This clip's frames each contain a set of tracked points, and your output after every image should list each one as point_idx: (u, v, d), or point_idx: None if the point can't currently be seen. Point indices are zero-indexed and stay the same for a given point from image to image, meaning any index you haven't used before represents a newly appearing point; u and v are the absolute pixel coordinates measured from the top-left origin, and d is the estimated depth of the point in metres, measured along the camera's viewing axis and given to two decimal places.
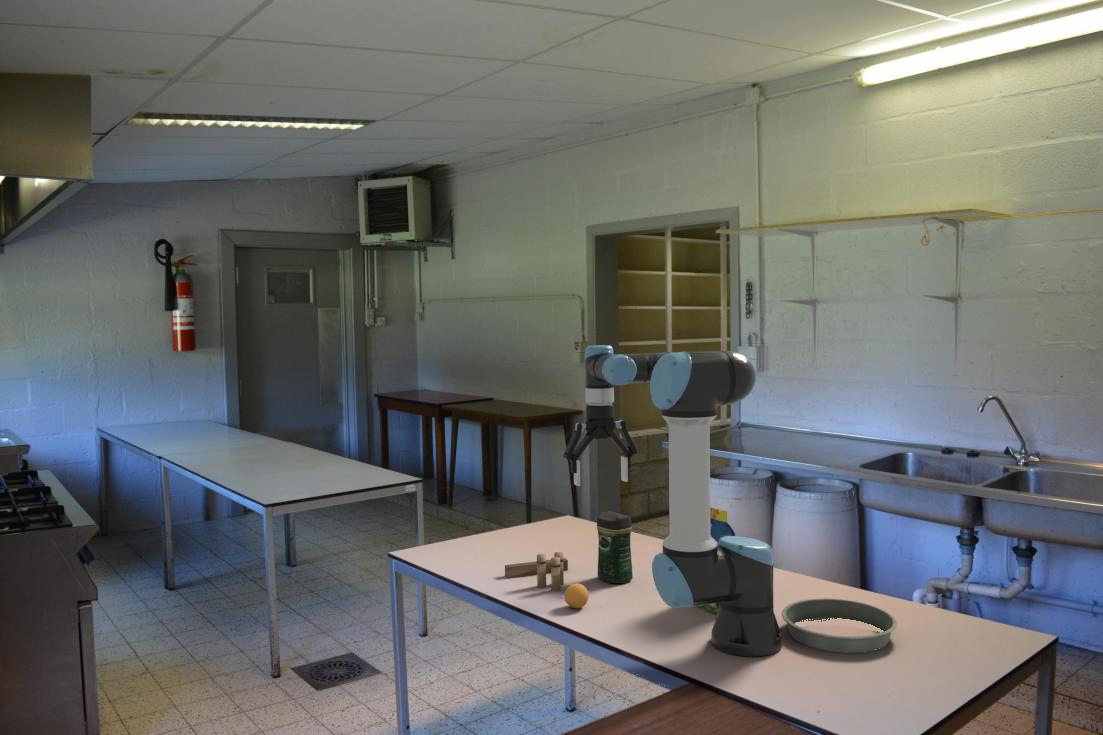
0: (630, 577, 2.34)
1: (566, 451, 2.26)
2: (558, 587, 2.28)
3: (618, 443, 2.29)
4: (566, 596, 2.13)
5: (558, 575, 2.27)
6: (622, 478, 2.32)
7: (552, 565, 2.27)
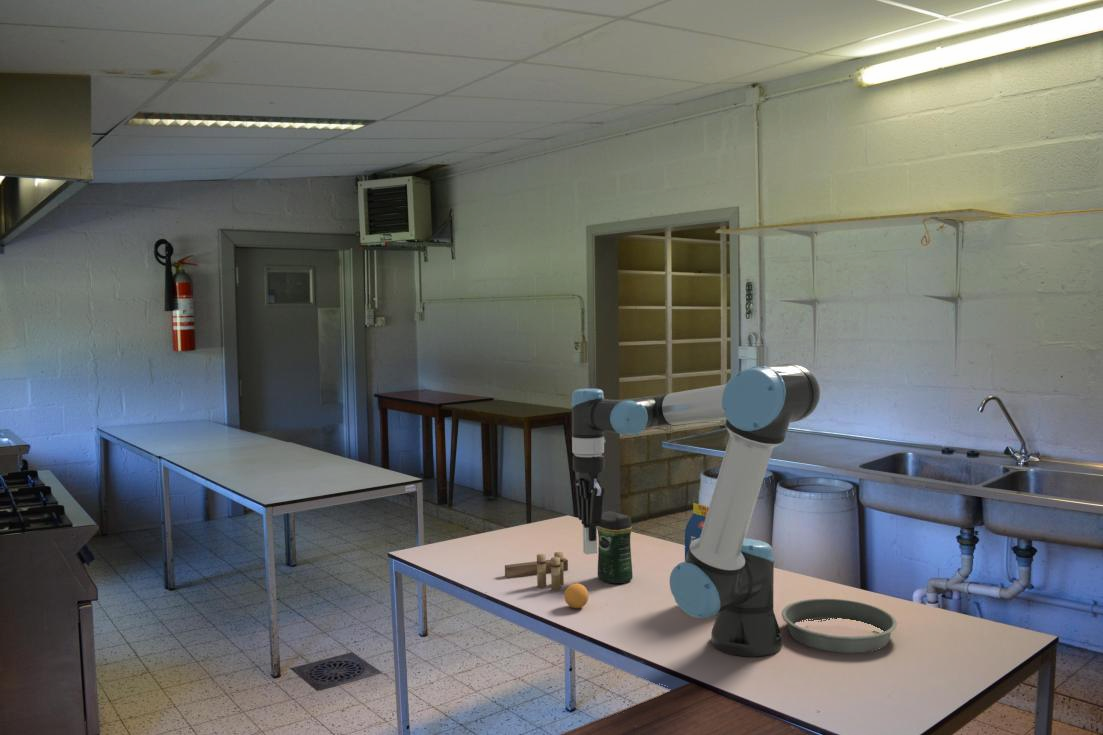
0: (630, 577, 2.34)
1: None
2: (558, 587, 2.28)
3: (586, 506, 2.02)
4: (566, 596, 2.13)
5: (558, 575, 2.27)
6: None
7: (552, 565, 2.27)
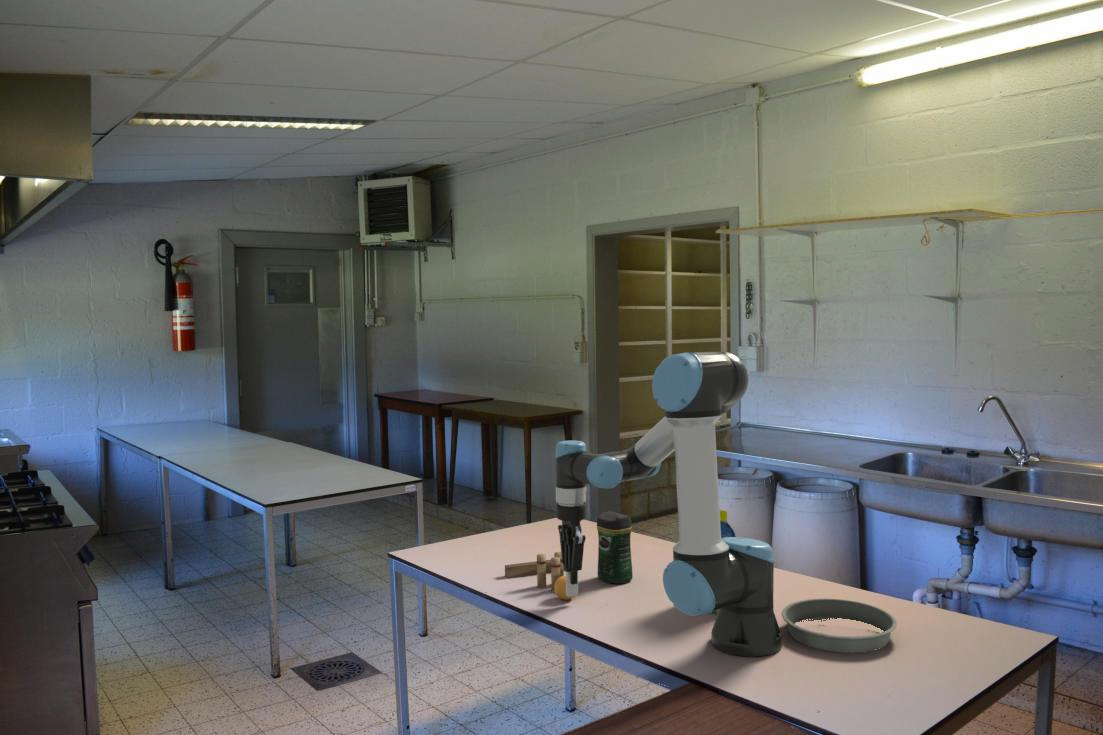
0: (630, 577, 2.34)
1: None
2: None
3: (568, 551, 2.14)
4: (554, 587, 2.21)
5: (558, 575, 2.27)
6: None
7: (552, 565, 2.27)
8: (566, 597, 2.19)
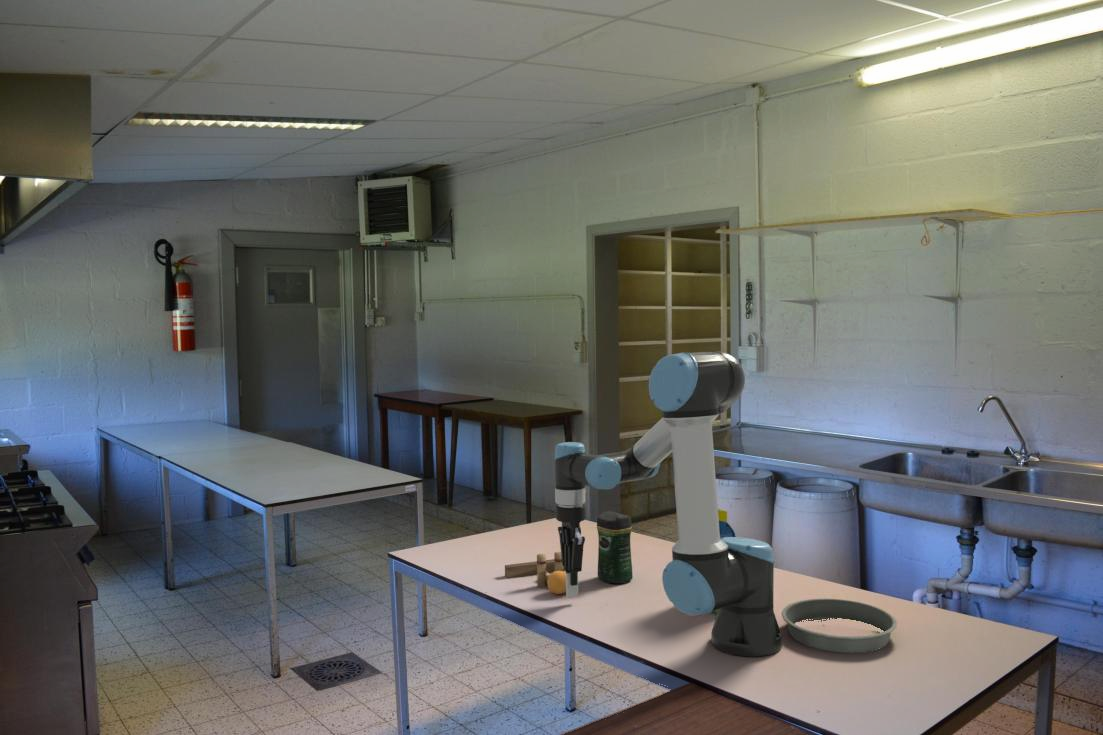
0: (630, 577, 2.34)
1: None
2: None
3: (568, 552, 2.15)
4: (548, 586, 2.25)
5: None
6: None
7: None
8: (558, 577, 2.23)
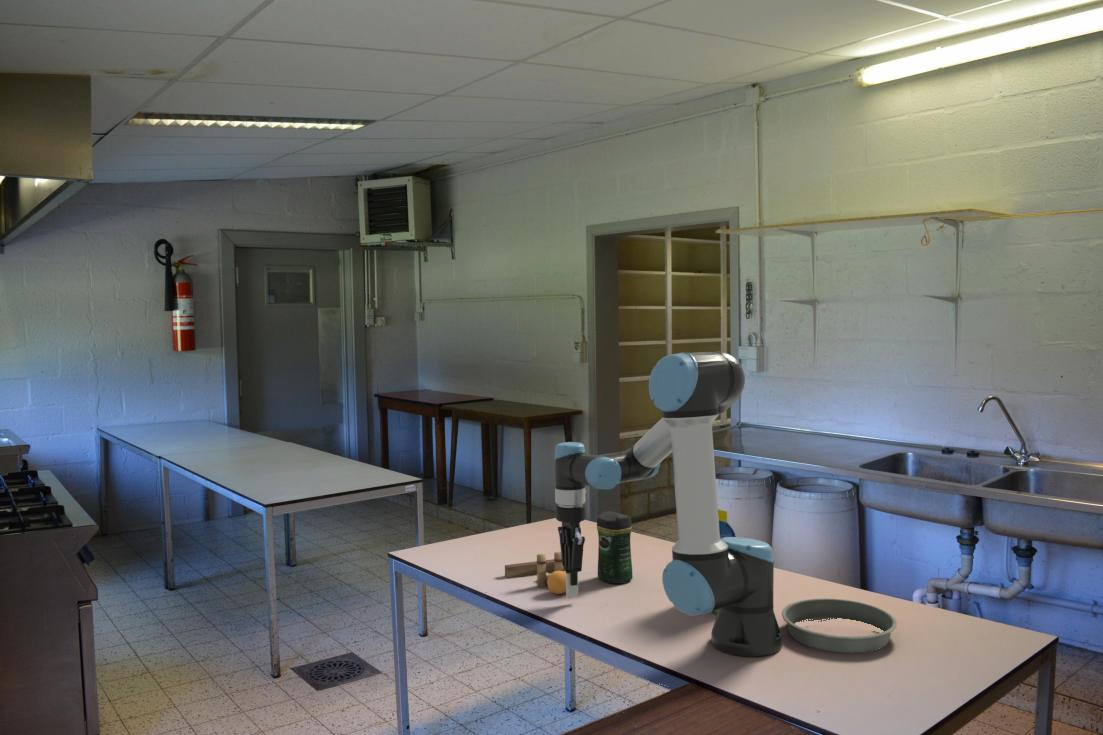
0: (630, 577, 2.34)
1: None
2: None
3: (568, 552, 2.15)
4: (548, 586, 2.25)
5: None
6: None
7: None
8: (558, 577, 2.23)
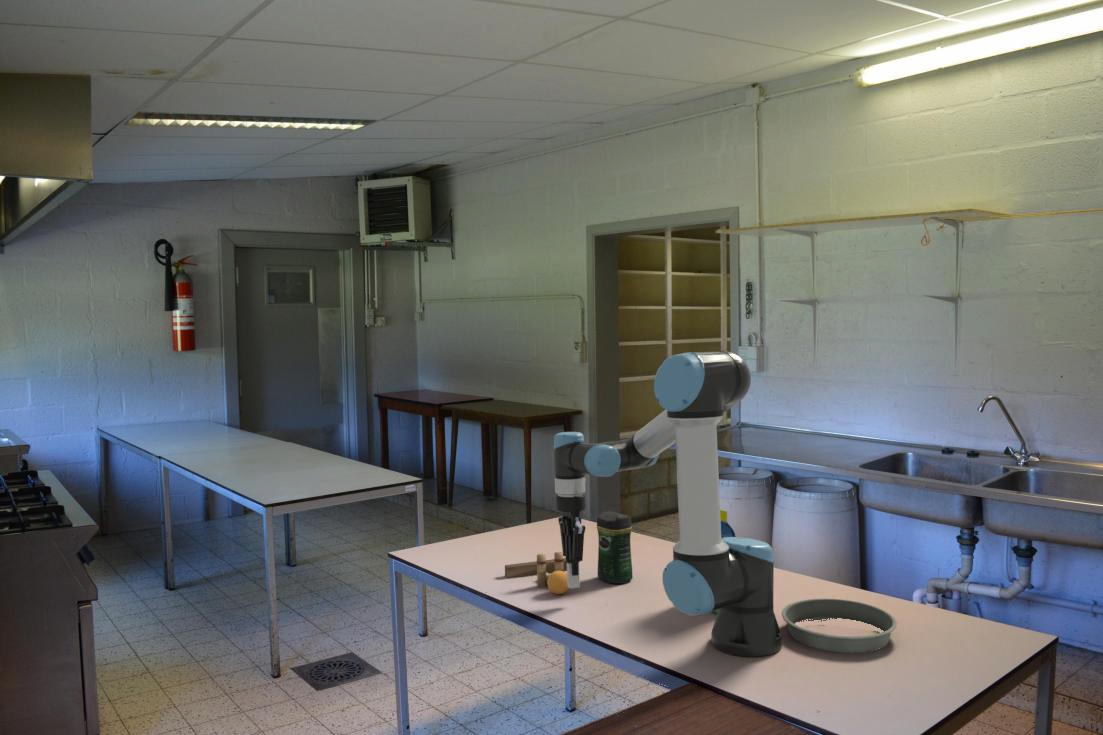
0: (630, 577, 2.34)
1: None
2: None
3: (569, 542, 2.15)
4: (548, 586, 2.25)
5: None
6: None
7: None
8: (558, 577, 2.23)
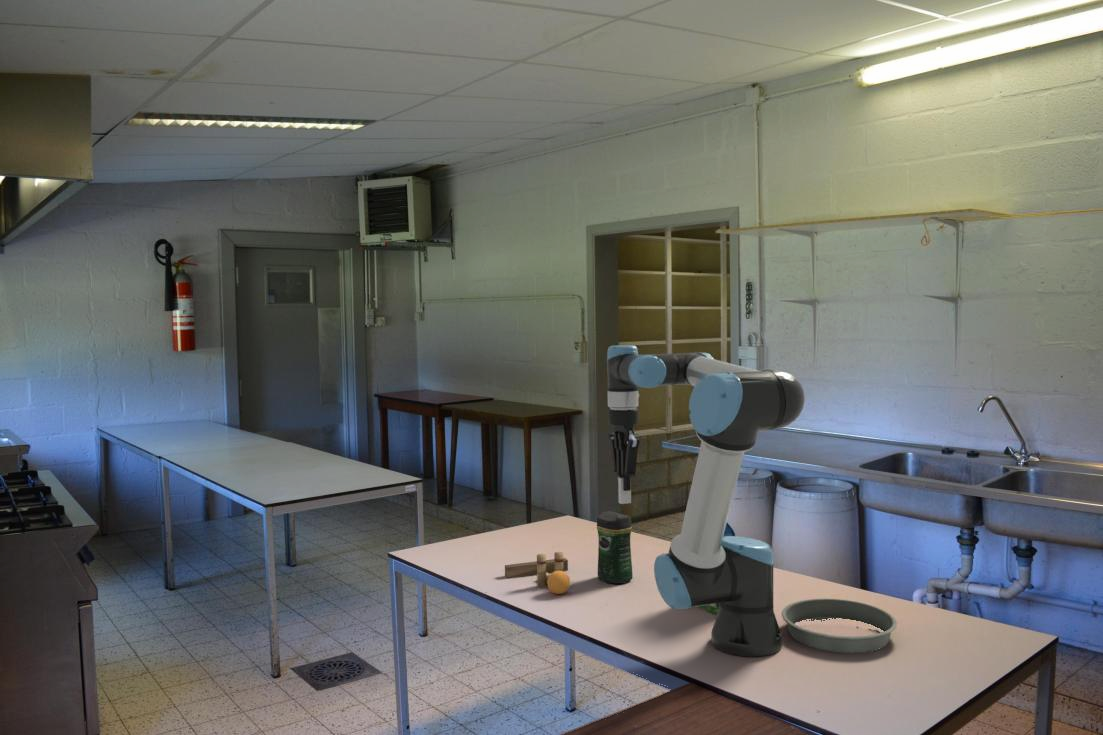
0: (630, 577, 2.34)
1: None
2: None
3: (621, 457, 2.11)
4: (548, 586, 2.25)
5: None
6: None
7: None
8: (558, 577, 2.23)
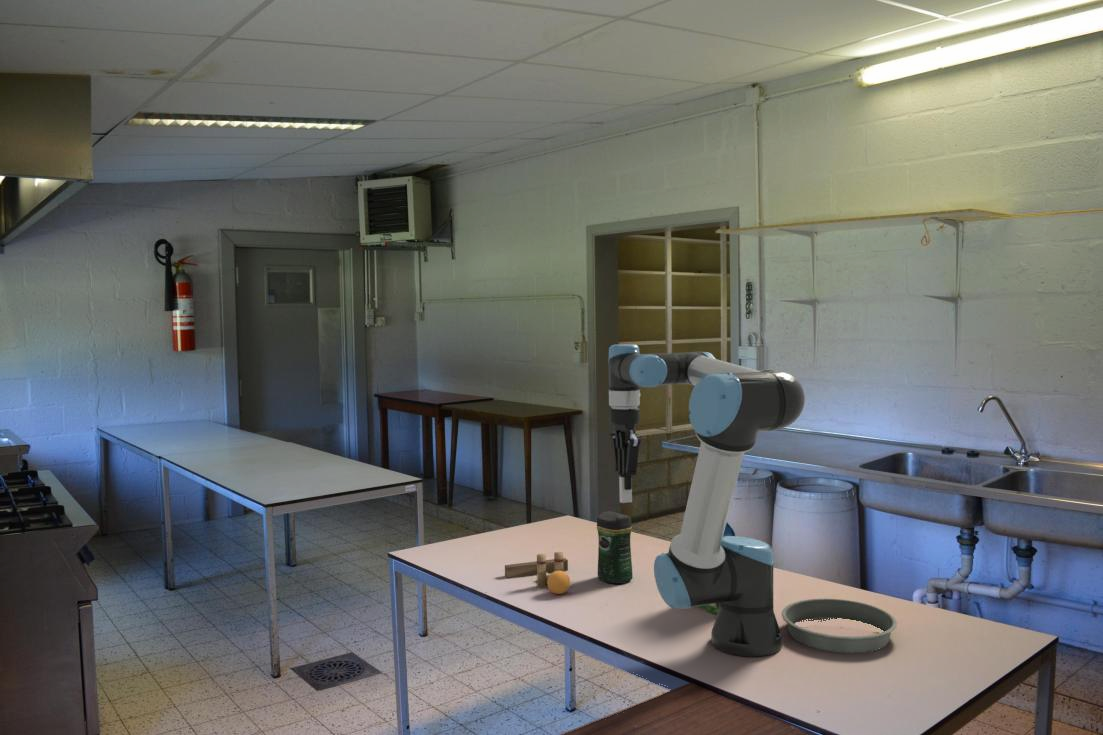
0: (630, 577, 2.34)
1: None
2: None
3: (622, 456, 2.11)
4: (548, 586, 2.25)
5: None
6: None
7: None
8: (558, 577, 2.23)
